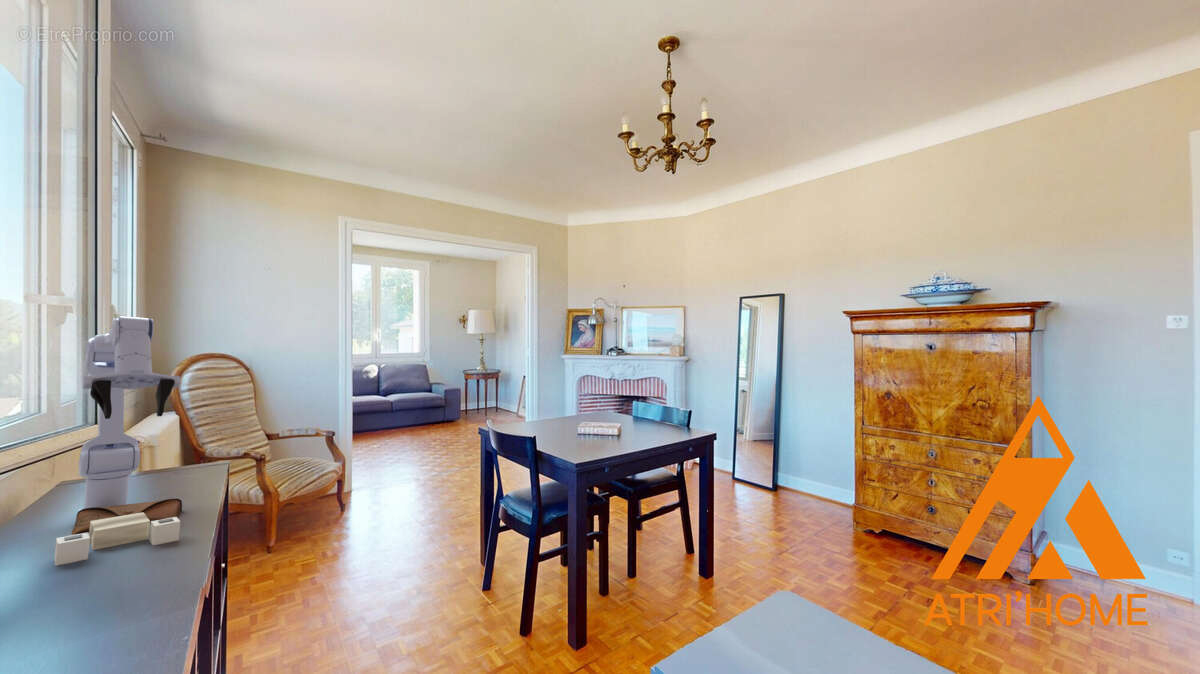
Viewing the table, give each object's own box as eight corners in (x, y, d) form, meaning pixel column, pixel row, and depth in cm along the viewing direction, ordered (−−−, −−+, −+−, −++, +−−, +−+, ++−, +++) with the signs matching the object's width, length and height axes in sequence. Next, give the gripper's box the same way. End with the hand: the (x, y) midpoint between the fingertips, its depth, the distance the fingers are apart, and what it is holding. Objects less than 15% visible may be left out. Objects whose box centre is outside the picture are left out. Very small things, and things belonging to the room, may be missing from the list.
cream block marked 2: (149, 540, 97) (151, 520, 98) (174, 535, 100) (176, 515, 101) (152, 545, 95) (154, 525, 95) (178, 540, 98) (180, 520, 98)
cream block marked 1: (54, 559, 87) (56, 536, 87) (85, 553, 90) (88, 531, 90) (55, 566, 85) (57, 542, 85) (87, 559, 88) (90, 537, 88)
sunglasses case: (66, 535, 98) (72, 503, 101) (71, 543, 102) (76, 513, 105) (180, 519, 109) (183, 491, 112) (180, 527, 114) (183, 500, 117)
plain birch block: (88, 540, 97) (90, 521, 97) (141, 530, 103) (143, 512, 103) (92, 551, 92) (94, 530, 92) (148, 540, 98) (150, 521, 98)
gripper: (87, 349, 94) (85, 406, 88) (181, 352, 105) (186, 402, 99) (82, 369, 97) (80, 425, 91) (174, 370, 108) (178, 420, 103)
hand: (135, 415), depth 95 cm, fingers open, 7 cm apart
